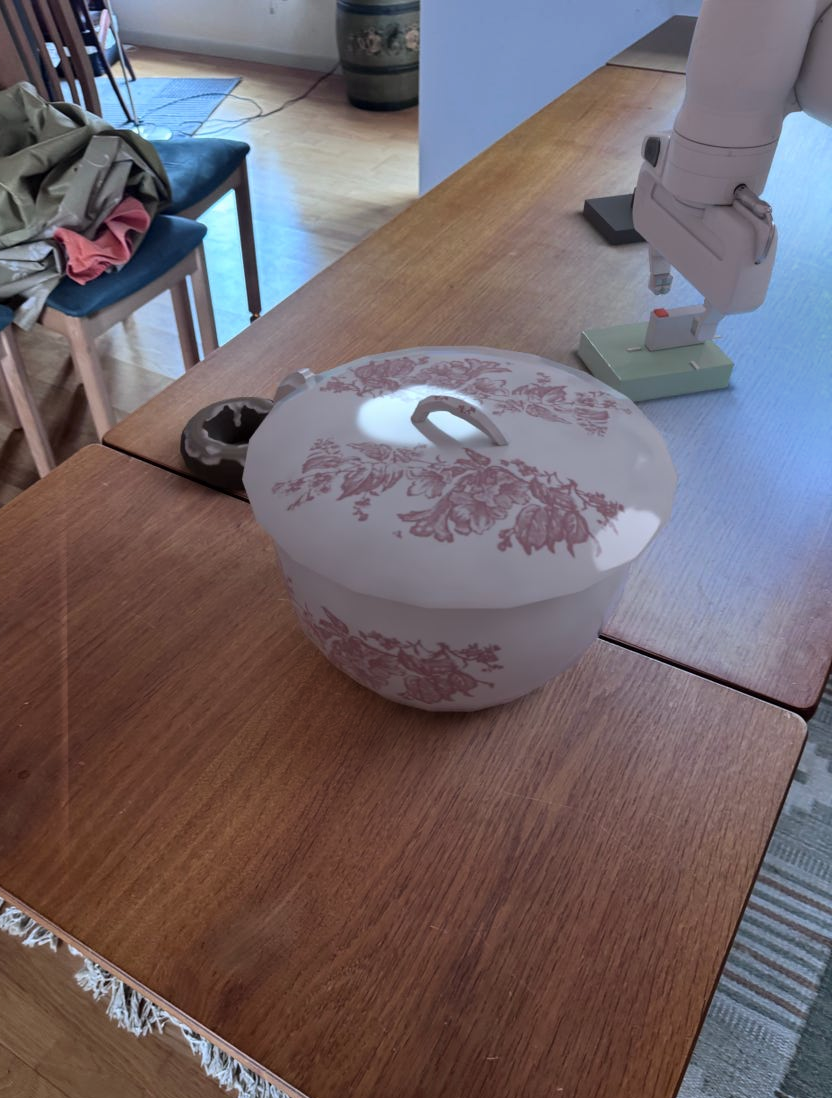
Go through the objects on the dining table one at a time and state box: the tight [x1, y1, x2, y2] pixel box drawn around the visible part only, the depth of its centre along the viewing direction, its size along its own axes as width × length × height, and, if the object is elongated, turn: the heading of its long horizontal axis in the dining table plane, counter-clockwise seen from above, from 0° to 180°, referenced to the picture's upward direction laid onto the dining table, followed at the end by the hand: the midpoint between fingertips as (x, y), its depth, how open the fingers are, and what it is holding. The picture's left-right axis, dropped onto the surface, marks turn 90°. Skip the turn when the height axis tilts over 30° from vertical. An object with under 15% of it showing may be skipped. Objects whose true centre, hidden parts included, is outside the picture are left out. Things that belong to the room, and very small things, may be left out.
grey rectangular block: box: [644, 303, 706, 351], centre depth 91 cm, size 6×2×4 cm, turn 102°
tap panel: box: [577, 320, 735, 403], centre depth 93 cm, size 13×10×3 cm
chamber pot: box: [242, 345, 679, 712], centre depth 63 cm, size 28×28×21 cm
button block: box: [582, 186, 648, 247], centre depth 116 cm, size 12×10×4 cm
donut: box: [179, 396, 274, 490], centre depth 85 cm, size 12×12×4 cm
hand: (678, 313), depth 90 cm, fingers open, 8 cm apart
